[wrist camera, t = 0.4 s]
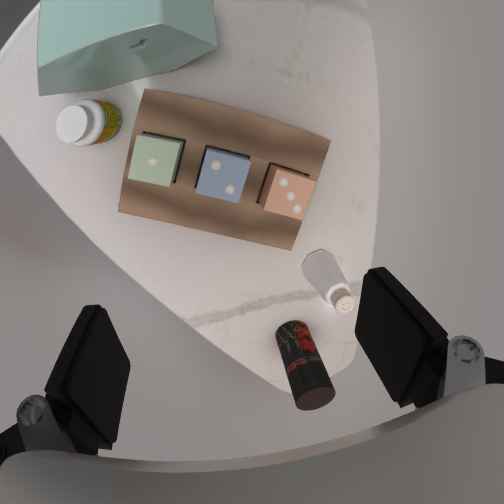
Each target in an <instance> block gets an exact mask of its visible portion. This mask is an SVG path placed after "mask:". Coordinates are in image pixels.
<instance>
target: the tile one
mask: <svg viewBox="0 0 504 504" xmlns="http://www.w3.org/2000/svg"><path fill="white" fill-rule="evenodd" d="M183 143H184V141H180V140H175V139H170V138H165V137H160V136H155V135H150V134H140V135H137V137H136V141H135V146H134V150H133V155H132V159H131V164H130V169H129V175H128V178H129V179H134V180H138V181H143V182H148V183H153V184H157V185H162V186H167V187H170V186H171V184H172V183H173V181H174V179H175V174H176V170H177V166H178V162H179V158H180V154H181V151H182V147H183Z"/></svg>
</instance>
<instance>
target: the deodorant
mask: <svg viewBox="0 0 504 504" xmlns="http://www.w3.org/2000/svg"><path fill="white" fill-rule="evenodd" d="M276 340H277V343H278V347H279V350H280V353H281V357H282V360H283V364H284V367H285V370H286V374H287V377H288V380H289V384H290V387H291V390H292V394H293V397H294V400H295V403H296V406H297V408H299V409H301V410H306V411H307V410H314V409H318V408H320V407H322V406H324V405H326V404H328V403H329V402H330V401H331V400H332V399H333V398H334V397H335V390H334V388H333V385H332V383H331V380H330V378H329V376H328V373H327V371H326V369H325V366H324V364H323V362H322V359H321V357H320V355H319V352H318V350H317V348H316V346H315V343H314V341H313V339H312V337H311V334H310V332H309V330H308V327H307V326H306V324H305V323H303V322H301V321H289V322H286V323H285V324H283V325H281V326H280V327H279V328H278V330H277V332H276Z"/></svg>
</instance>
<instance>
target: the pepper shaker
mask: <svg viewBox="0 0 504 504" xmlns="http://www.w3.org/2000/svg"><path fill="white" fill-rule="evenodd" d="M302 268H303V271H304V275H305V277H306V278H307V279H308V281H309V282H310V283H311V284H312V285H313V287H314V288H315V289H316V290H317V291H318V293H319V294H320V295H321V296H322V298H323V299H324V300H325V301H326V302H327V303H328V304H331V305H333V306H334V308H335V310H336V312H337V313H339V314H345V313H348V312H349V311H351V310H352V309H353V307H354V305H355V299H354V297H353V296H351V294H350V288H349V284H348V282H347V280H346V279H345V277H344V275H343V273H342V271H341V270H340V268H339V266H338V264H337V262H336V261H335V259H334V257H333V255H332V254H330V253H328V252H326V251H324V250H322V249H321V250H318V251H316V252H313V253H310V254H308V256H307V258H306V259H305V261H304V263H303V264H302Z"/></svg>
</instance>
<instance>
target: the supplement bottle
mask: <svg viewBox="0 0 504 504" xmlns="http://www.w3.org/2000/svg"><path fill="white" fill-rule="evenodd" d="M121 122H122V117H121V113H120V111H119V109H118V108H117V107H116V106H115V105H114V104H112V103H108V102H102V101H96V100H80V101H78V102H76V103H74V104H73V105H70V106H68V107H66V108H65V109H63V110H62V111H61V113H60V114H59V116H58V118H57V121H56V133H57V135H58V137H59V138H60V139H61V140H62V141H63V142H66V143H70V144H72V145H74V146H78V147H83V146H88V145H92V144H97V143H101V142H105V141H108V140H110V139H112V138H113V137H114V136H115V135H116V134H117V133H118V131H119V129H120V127H121Z"/></svg>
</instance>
